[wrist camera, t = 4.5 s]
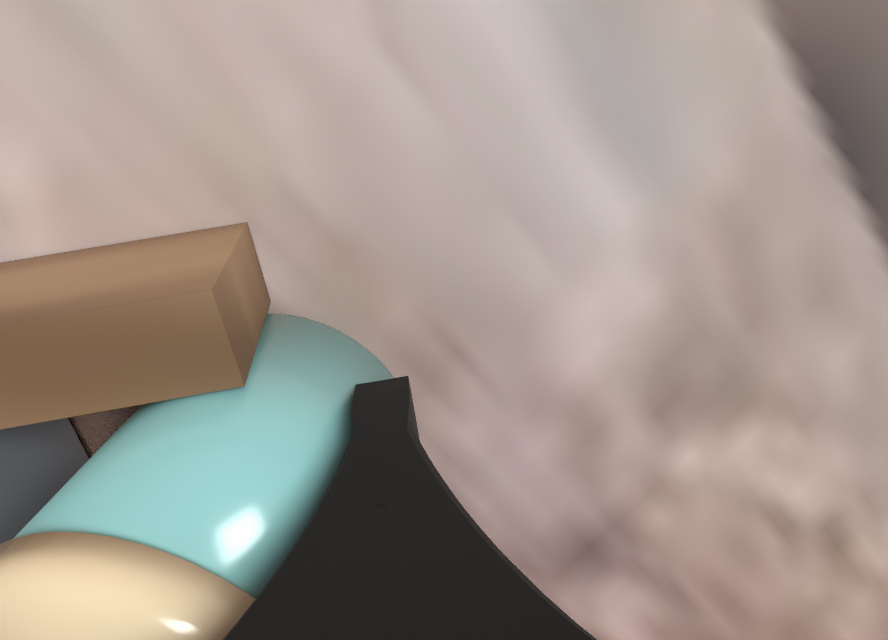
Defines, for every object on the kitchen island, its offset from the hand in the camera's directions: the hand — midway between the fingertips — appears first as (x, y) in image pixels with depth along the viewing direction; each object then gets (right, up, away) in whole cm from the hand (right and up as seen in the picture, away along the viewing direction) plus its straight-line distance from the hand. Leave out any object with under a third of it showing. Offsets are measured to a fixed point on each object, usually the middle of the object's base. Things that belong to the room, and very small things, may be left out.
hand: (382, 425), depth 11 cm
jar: (-2, 0, +2) cm, 2 cm away
